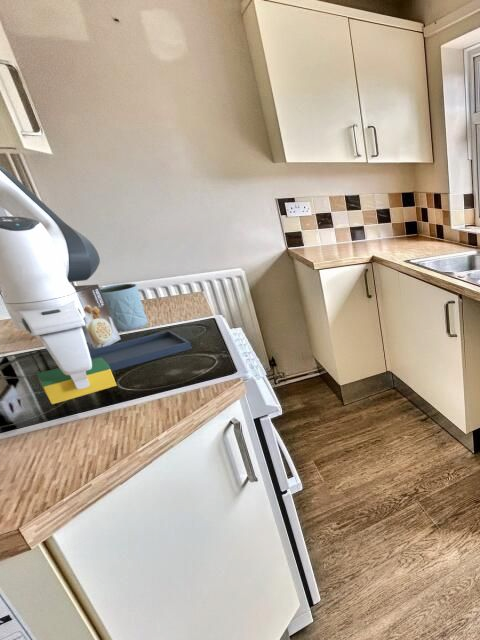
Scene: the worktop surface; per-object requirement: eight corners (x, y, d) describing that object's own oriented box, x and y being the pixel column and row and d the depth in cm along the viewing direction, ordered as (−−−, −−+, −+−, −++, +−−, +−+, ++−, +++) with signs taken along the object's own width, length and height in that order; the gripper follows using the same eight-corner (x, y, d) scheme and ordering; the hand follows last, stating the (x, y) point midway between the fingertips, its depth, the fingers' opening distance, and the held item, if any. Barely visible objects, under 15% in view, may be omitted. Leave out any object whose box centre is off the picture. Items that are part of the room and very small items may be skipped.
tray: (71, 382, 94) (67, 374, 93) (58, 366, 102) (54, 358, 102) (191, 348, 111) (189, 341, 110) (172, 336, 119) (169, 330, 119)
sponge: (51, 404, 75) (41, 382, 74) (46, 394, 79) (36, 373, 77) (117, 385, 82) (108, 364, 80) (109, 377, 85) (101, 357, 84)
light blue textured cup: (158, 320, 133) (145, 283, 128) (130, 332, 124) (114, 292, 119) (128, 320, 134) (114, 283, 129) (97, 332, 124) (81, 292, 120)
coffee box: (96, 341, 117) (72, 285, 111) (121, 339, 118) (99, 283, 112) (69, 354, 109) (42, 294, 103) (97, 352, 110) (72, 293, 104)
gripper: (15, 306, 78) (46, 373, 83) (30, 328, 67) (66, 404, 72) (62, 298, 83) (89, 362, 88) (84, 318, 71) (114, 390, 76)
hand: (79, 381), depth 80 cm, fingers closed on sponge, 6 cm apart
